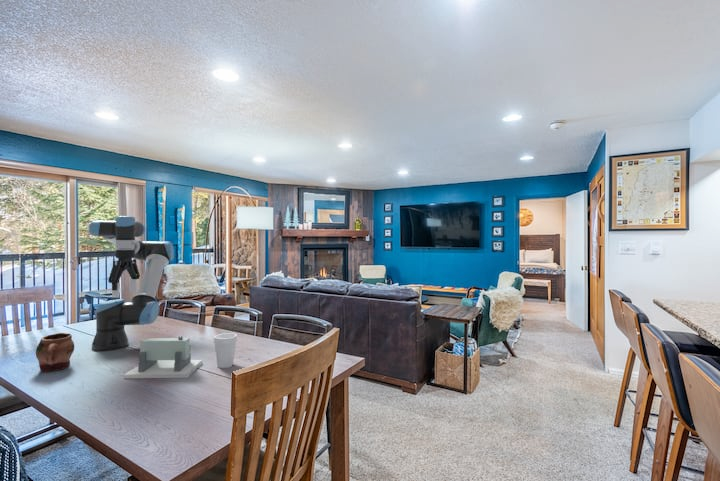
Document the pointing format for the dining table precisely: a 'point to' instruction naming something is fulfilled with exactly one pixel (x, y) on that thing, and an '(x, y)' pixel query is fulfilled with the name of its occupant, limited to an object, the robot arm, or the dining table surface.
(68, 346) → the decorative planter
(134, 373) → the clip rack
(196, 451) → the dining table surface
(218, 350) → the foam cup
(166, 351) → the tapered bar with knob
